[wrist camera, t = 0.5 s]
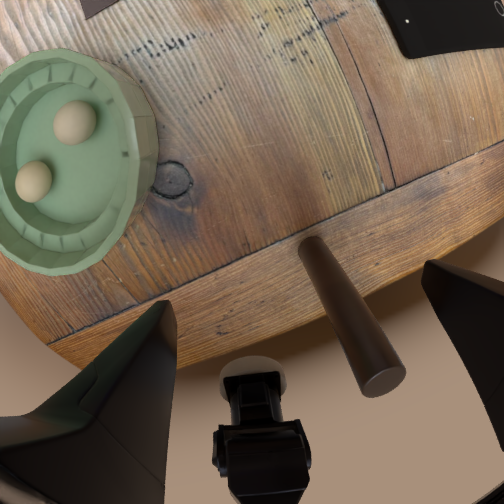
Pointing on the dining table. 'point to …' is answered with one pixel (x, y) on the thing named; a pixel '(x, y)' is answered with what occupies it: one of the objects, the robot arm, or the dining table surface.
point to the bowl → (72, 160)
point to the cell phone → (445, 25)
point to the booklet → (94, 6)
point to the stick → (352, 322)
